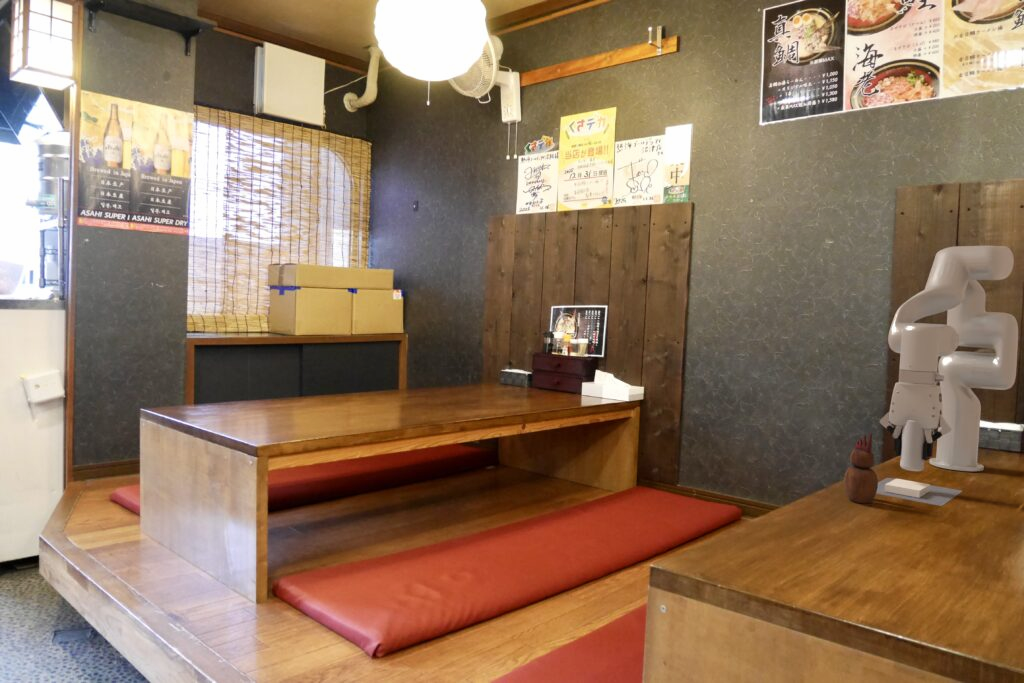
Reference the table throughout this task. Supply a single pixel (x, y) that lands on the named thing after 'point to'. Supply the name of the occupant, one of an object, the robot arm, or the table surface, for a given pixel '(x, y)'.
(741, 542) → the table surface
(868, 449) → the wooden figurine
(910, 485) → the tile
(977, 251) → the robot arm
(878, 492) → the mat
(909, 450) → the beverage can
